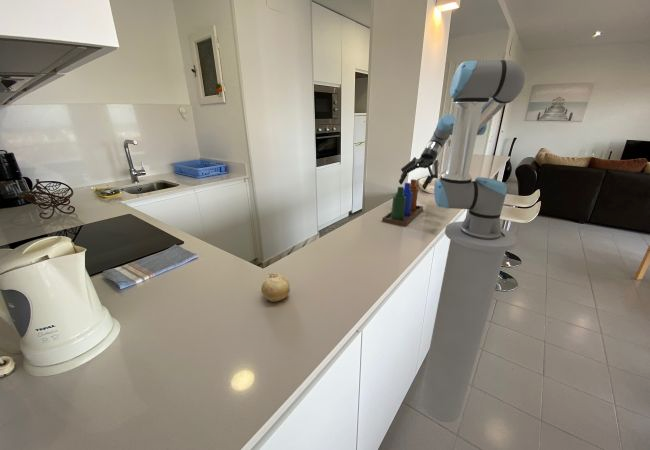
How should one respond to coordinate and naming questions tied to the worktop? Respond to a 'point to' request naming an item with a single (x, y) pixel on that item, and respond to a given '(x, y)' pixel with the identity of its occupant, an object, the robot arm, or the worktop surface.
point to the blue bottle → (407, 198)
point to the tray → (406, 218)
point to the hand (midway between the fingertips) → (411, 185)
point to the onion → (275, 288)
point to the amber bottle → (414, 195)
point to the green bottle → (398, 205)
